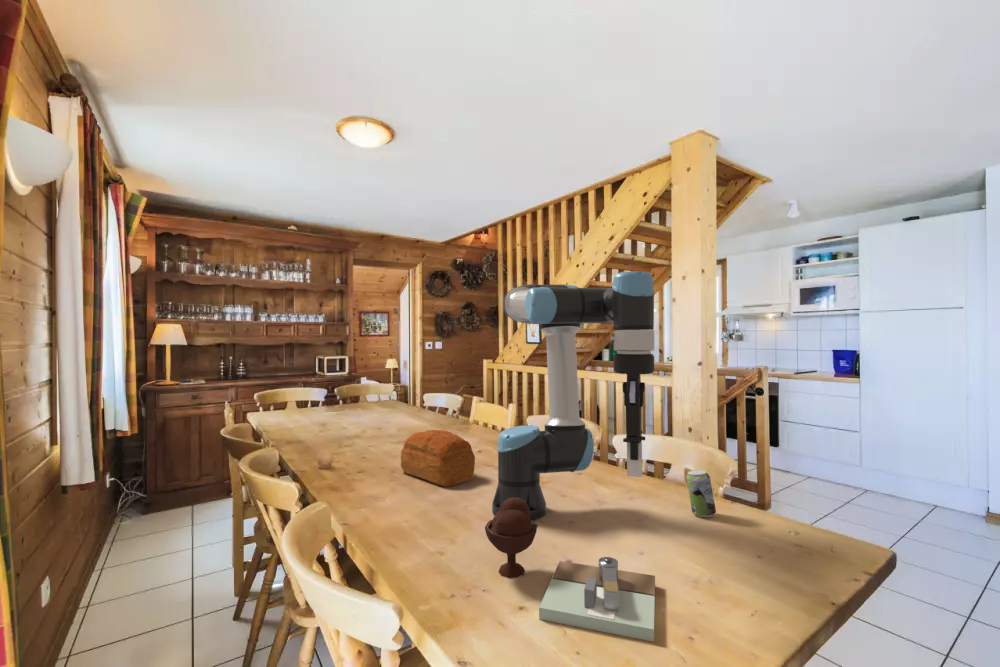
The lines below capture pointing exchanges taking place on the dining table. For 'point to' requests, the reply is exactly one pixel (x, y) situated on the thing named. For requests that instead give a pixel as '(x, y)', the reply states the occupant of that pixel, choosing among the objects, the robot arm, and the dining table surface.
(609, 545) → the dining table surface
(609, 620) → the door slab
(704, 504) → the beverage can
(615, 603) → the bar
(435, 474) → the bread
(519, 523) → the ice cream bowl
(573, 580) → the strip
